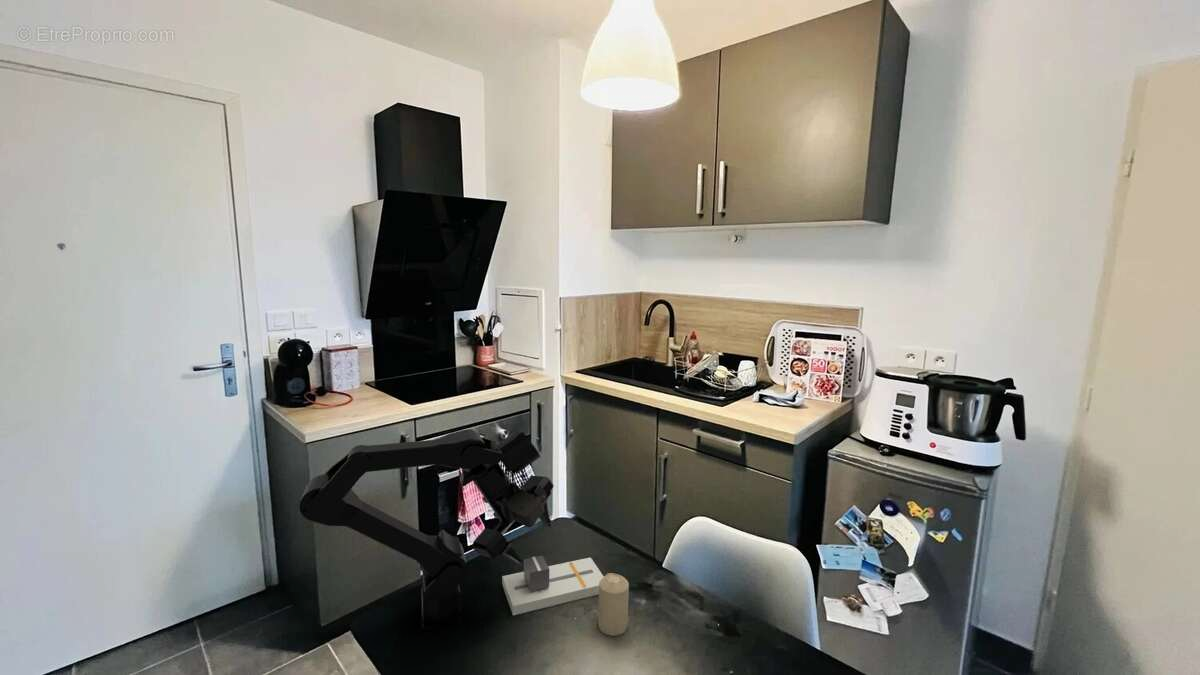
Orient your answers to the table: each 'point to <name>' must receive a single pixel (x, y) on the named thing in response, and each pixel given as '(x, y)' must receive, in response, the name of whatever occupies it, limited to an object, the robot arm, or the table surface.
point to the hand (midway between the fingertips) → (535, 544)
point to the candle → (613, 604)
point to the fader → (536, 573)
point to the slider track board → (553, 586)
